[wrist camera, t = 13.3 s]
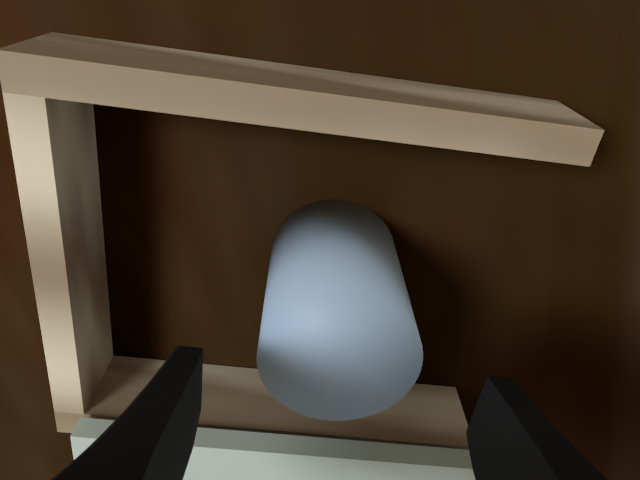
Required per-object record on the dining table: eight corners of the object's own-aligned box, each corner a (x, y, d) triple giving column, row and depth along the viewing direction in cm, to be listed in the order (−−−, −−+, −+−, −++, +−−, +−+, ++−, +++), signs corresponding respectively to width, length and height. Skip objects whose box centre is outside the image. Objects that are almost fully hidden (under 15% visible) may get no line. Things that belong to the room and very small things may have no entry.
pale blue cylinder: (381, 311, 20) (403, 426, 15) (266, 299, 19) (251, 413, 15) (406, 207, 18) (440, 303, 13) (277, 192, 17) (263, 284, 12)
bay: (411, 512, 26) (422, 576, 23) (102, 489, 25) (77, 553, 22) (556, 100, 16) (604, 130, 13) (52, 31, 15) (-5, 49, 12)
